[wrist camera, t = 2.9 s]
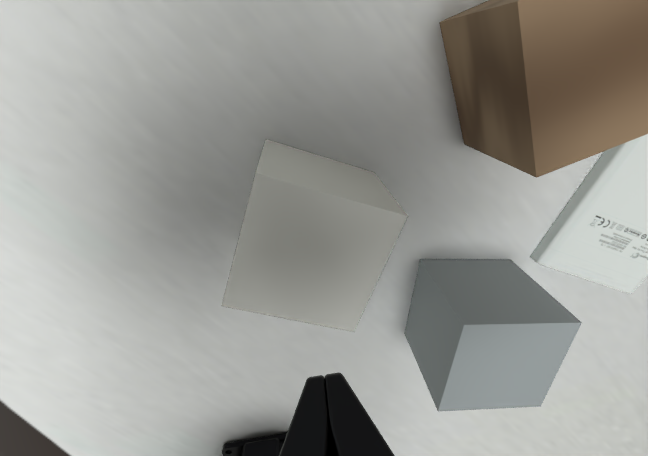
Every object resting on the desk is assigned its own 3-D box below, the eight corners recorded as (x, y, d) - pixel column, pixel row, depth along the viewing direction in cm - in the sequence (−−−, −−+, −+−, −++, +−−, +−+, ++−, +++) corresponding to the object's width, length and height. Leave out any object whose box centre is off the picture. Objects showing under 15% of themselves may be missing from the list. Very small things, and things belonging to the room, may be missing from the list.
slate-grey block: (485, 330, 24) (540, 406, 19) (404, 332, 24) (438, 411, 18) (509, 258, 22) (581, 322, 16) (419, 258, 21) (464, 324, 16)
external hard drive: (762, 111, 20) (615, 283, 24) (661, 54, 18) (523, 252, 22) (800, 115, 18) (635, 297, 23) (695, 53, 16) (539, 265, 21)
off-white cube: (337, 262, 21) (354, 332, 15) (239, 239, 20) (220, 306, 14) (374, 171, 18) (408, 216, 13) (265, 137, 17) (254, 172, 12)
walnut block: (573, 98, 18) (697, 114, 12) (463, 143, 18) (536, 177, 13) (567, -35, 15) (721, -88, 10) (438, 22, 16) (517, 1, 10)
